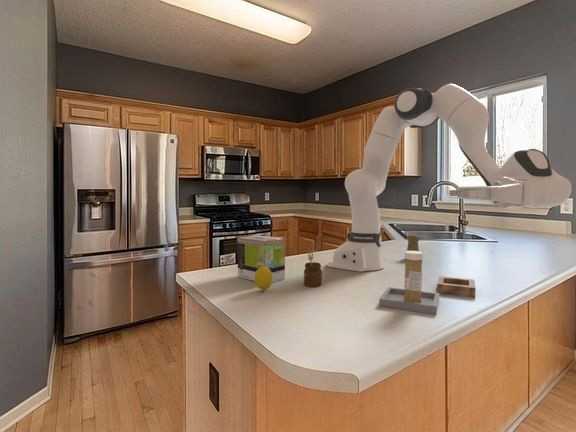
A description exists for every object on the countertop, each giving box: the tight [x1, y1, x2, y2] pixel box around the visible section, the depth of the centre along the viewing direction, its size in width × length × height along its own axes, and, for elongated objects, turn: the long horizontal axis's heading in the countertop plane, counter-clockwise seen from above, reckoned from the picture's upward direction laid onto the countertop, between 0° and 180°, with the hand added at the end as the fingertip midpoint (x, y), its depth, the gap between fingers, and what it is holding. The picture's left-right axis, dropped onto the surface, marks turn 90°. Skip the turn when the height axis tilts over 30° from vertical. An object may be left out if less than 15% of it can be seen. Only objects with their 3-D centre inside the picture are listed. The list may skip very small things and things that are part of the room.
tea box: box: [236, 235, 286, 283], centre depth 119 cm, size 15×10×15 cm
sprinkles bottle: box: [404, 250, 424, 303], centre depth 91 cm, size 5×5×14 cm
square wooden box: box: [436, 275, 476, 298], centre depth 102 cm, size 10×10×3 cm
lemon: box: [254, 266, 273, 292], centre depth 103 cm, size 6×6×8 cm
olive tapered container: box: [406, 233, 420, 252], centre depth 150 cm, size 6×6×11 cm
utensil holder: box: [303, 250, 323, 288], centre depth 110 cm, size 6×6×12 cm
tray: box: [378, 286, 440, 315], centre depth 91 cm, size 14×12×2 cm
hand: (458, 193), depth 93 cm, fingers open, 8 cm apart
